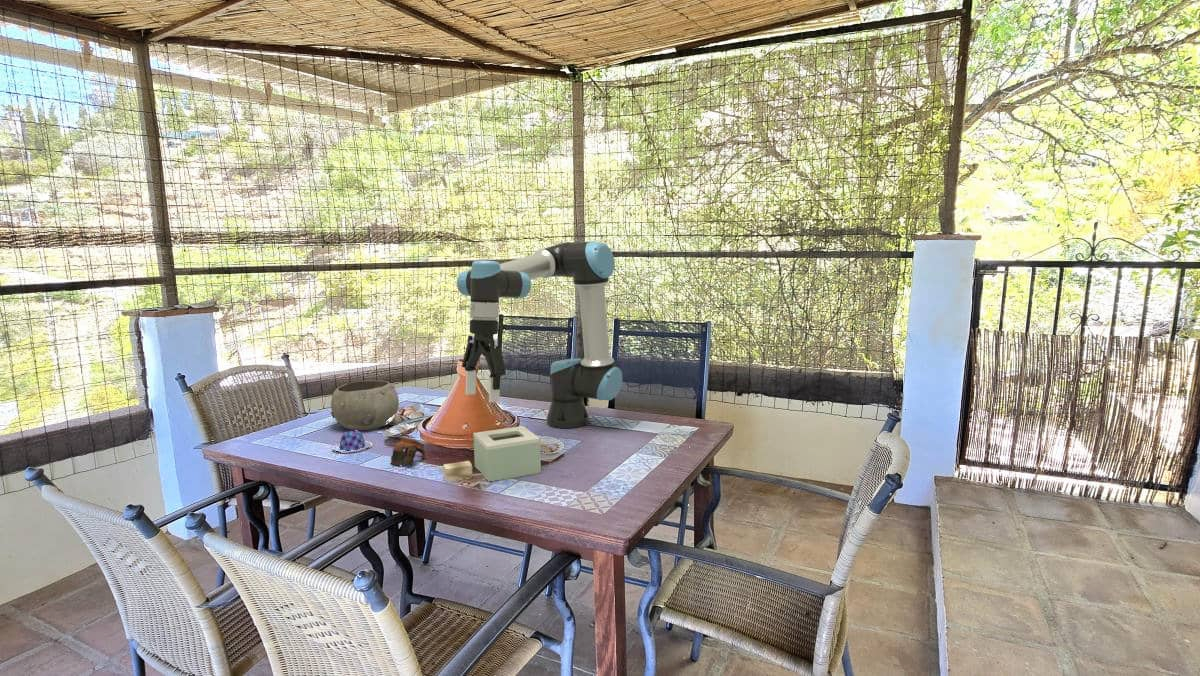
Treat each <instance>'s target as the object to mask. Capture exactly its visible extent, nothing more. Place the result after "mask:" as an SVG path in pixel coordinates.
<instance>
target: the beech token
mask: <svg viewBox="0 0 1200 676" xmlns="http://www.w3.org/2000/svg"><path fill="white" fill-rule="evenodd" d="M442 468H443V479H444V478H445V479H446V481H447V482H448V481H454V480H459V479H466V478H472V477H474V475H473V465H472V463H471V462H470V460H465V461H459V462H458V461H457V462H452V463H445V464H443V467H442ZM445 479H444V480H445ZM446 481H445V482H446ZM447 482H446V483H447Z"/></svg>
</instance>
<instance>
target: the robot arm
mask: <svg viewBox="0 0 1200 676" xmlns="http://www.w3.org/2000/svg"><path fill="white" fill-rule="evenodd" d="M470 268H471V269H469V270H463V271H461V272H460V273H459V274H458V276H457V279H456V287H457V290H458V291H459V293H460V294H462V295H463V296H465V297H466V296H468V297H470V303H469V304H470V305H469V310H470V311H469V312H470V314H469V317H470V318H472V319H470V320H469V333H471V334H472V335H471V334H470V335H468V336H467V344H466V348H465V352H464V356H463V359H462V363H461V367H462V368H464V370H465V396H469V395H470V396H471V395H476V392H477V370H478V369H477V364H478V363H479V361H480V358H481V356H483V357H485V361H486V364H487V367H488V370H489V371H490V375H489V383H488V384H489V385H488V386H489V387H488V388H489V389H488V403H500V397H501V396H500V395H501V394H500V393H501V377H503V376H505V375H506V373H507V372H506V368H505V364H504V358H503V354H502V349H501V339H500V338H494V335H497V334H498V333H499V320H497V319H499V315H500V312H499V311H500V298H504V299H505V298H506V299H507V298H508V299H516V300H517V299H523V298H525V297H527V296H528V295H529V293H531V289H532V280H535V279H538V278H543V279H548V278H551V277H560V278H561V277H563V278H573V285H574V286H575V287H576V288H577V289H578V295H579V307H580V318H581V327H582V329H581V330H582V331H581V332H582V341H583V342H582V343H583V353H584V354H583V355H584V357H583V358H580V357H579V358H567V359H561V360H556V361H554V362H553V361H552V363H551V364H550V373H549V376H550V396H551V397H550V401H551V402H550V406H549V407H548V408H549V409H548V411H547V415H546V424H547V425H548V426H550V427H552V428H558V429H573V428H574V429H575V428H580V427H585V426H586V425H588V424H589V422H590V421H589V413H588V410H587V408H586V405H585V403H584V398H586V399H592V400H593V399H594V400H598V401H612V400H613V399H614V398H616V397H617V395H618V394H619V392H620V390H621V388H622V385H623V372H622V370H621V369H620V368H619V367H618V366H615V359H614V357H612V356H611V355H610V346H609V333H608V332H609V331H608V320H607V319H608V317H607V304H606V302H607V301H606V292H605V291H606V290H605V286H606V285H607V284H608V283H609V278H610V277H611V276H612V275H613V273H614V269H615V257H614V254H613V252H612V249H611V248H610V247H609V246H608V245H607V244H606V243H605V242H601V241H575V242H574V241H573V242H572V241H571V242H569V241H568V242H561V243H557V244H554V245H551V246H548V247H545V248H541V249H538V250H536V251H535V252H534V253H533V254H531V255H527V256H525V257H524V256H523V257H521V258H516V259H513V260H510V261H506V262H501V263H500V262H498V261H495V260H474V261H473V262H472V264H471V267H470ZM473 334H474V335H473Z"/></svg>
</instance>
